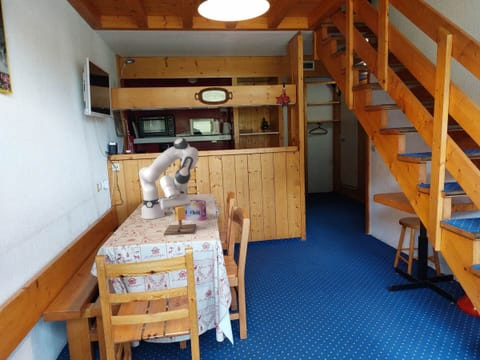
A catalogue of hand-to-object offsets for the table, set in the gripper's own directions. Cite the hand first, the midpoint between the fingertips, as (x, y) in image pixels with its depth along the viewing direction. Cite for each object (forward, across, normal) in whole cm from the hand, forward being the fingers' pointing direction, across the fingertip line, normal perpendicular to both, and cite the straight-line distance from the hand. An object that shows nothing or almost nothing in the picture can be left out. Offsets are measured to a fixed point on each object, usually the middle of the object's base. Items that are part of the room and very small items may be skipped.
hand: (180, 212), depth 206 cm
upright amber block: (+3, 0, +4) cm, 4 cm away
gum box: (-8, +20, +25) cm, 33 cm away
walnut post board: (+8, 0, +9) cm, 12 cm away
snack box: (-48, +35, +66) cm, 89 cm away
